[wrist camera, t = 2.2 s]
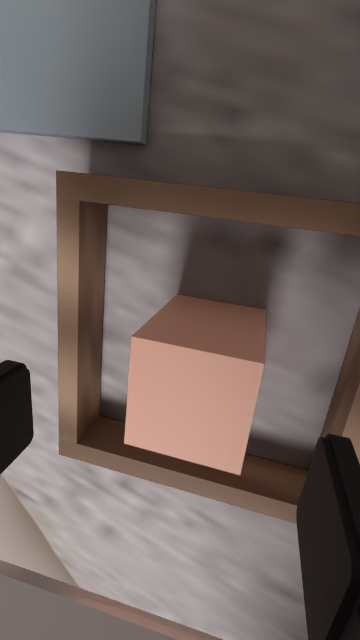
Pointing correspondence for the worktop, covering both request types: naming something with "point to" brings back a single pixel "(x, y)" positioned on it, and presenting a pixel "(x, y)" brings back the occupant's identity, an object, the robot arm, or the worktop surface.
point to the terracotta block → (196, 381)
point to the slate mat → (76, 68)
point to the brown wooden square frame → (87, 331)
